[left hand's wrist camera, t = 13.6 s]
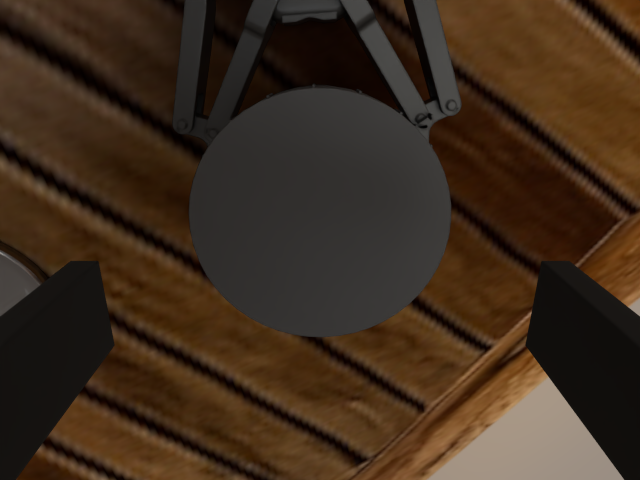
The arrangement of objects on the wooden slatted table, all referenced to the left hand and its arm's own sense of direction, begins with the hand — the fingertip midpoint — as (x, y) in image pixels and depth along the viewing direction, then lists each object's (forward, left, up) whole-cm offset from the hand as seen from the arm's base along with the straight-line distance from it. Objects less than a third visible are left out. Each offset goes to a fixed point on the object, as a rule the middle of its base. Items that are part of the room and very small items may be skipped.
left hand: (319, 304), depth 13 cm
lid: (0, 0, -7) cm, 7 cm away
